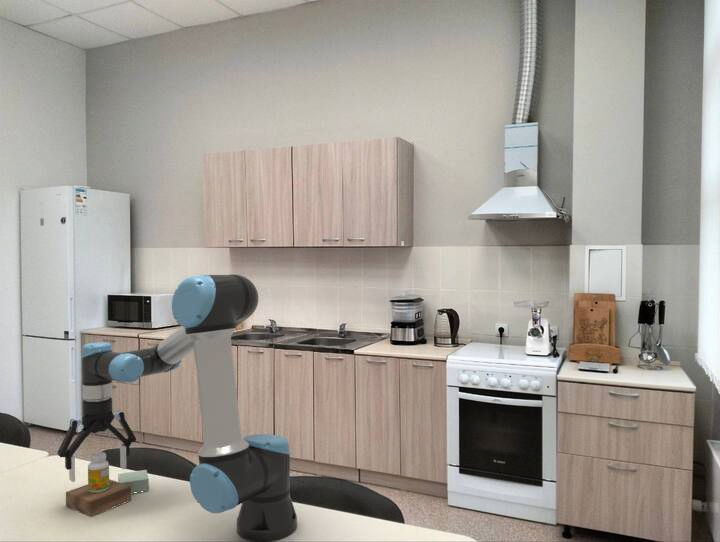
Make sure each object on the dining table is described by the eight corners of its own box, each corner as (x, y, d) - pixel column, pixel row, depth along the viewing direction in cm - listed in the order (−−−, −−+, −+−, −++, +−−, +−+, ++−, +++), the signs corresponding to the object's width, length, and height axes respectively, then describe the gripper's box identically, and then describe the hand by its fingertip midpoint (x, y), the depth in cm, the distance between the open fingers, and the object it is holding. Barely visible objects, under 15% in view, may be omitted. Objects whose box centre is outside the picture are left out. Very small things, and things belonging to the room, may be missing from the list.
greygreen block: (148, 492, 167) (148, 478, 167) (119, 497, 163) (119, 483, 163) (146, 482, 174) (146, 469, 174) (118, 487, 171) (118, 473, 171)
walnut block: (131, 500, 160) (130, 486, 160) (91, 516, 150) (90, 501, 150) (105, 491, 167) (105, 477, 167) (66, 506, 157) (65, 492, 156)
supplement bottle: (83, 491, 157) (83, 456, 157) (100, 484, 162) (100, 450, 162) (96, 494, 155) (96, 459, 154) (113, 487, 159) (113, 453, 159)
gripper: (137, 389, 169) (138, 459, 169) (44, 403, 152) (45, 481, 153) (147, 393, 163) (148, 466, 164) (51, 408, 147) (52, 490, 147)
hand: (98, 474), depth 158 cm, fingers open, 13 cm apart
